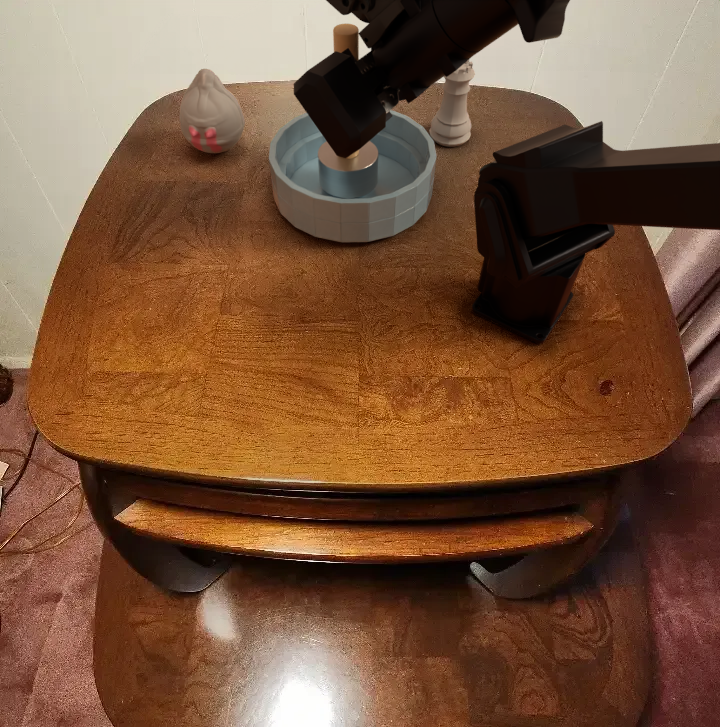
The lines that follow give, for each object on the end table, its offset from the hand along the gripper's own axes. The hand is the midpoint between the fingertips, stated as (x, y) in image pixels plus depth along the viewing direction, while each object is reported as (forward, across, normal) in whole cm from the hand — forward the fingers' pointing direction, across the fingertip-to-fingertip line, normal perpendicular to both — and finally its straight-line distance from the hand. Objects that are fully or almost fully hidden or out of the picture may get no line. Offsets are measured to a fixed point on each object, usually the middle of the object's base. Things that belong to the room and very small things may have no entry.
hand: (334, 111), depth 55 cm
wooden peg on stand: (+4, 0, +6) cm, 7 cm away
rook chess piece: (+2, -14, +9) cm, 17 cm away
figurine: (+16, +2, -4) cm, 17 cm away
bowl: (+4, 0, +7) cm, 8 cm away
